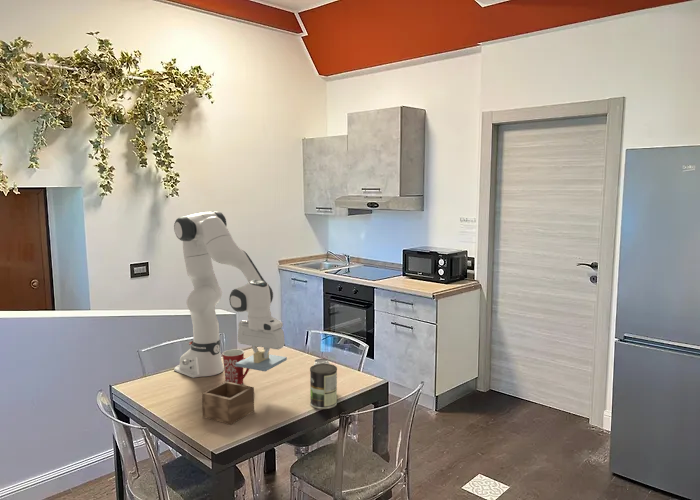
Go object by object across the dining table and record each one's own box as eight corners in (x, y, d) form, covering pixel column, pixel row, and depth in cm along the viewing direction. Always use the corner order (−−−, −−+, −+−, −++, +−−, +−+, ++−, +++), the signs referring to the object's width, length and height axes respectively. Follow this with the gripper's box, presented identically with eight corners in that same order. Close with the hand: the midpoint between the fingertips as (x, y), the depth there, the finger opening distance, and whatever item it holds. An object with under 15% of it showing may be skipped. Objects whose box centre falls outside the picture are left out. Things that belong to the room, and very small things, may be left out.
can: (327, 392, 212) (327, 363, 210) (312, 391, 213) (311, 362, 211) (331, 386, 218) (331, 358, 216) (316, 385, 219) (316, 357, 218)
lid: (235, 368, 201) (235, 354, 201) (258, 357, 214) (257, 344, 213) (265, 374, 195) (264, 359, 194) (286, 362, 207) (286, 348, 206)
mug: (218, 384, 220) (217, 353, 218) (233, 378, 228) (232, 347, 226) (241, 390, 213) (240, 358, 212) (256, 383, 221) (255, 352, 220)
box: (202, 417, 189) (201, 393, 188) (226, 403, 201) (226, 381, 200) (230, 424, 183) (230, 399, 182) (254, 410, 195) (253, 387, 194)
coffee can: (310, 409, 196) (310, 373, 194) (310, 398, 206) (309, 363, 204) (338, 408, 196) (337, 372, 195) (336, 397, 207) (336, 363, 205)
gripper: (233, 321, 204) (234, 356, 206) (276, 327, 195) (277, 363, 196) (243, 317, 210) (245, 351, 211) (286, 323, 200) (287, 358, 202)
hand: (261, 357), depth 204 cm, fingers closed on lid
